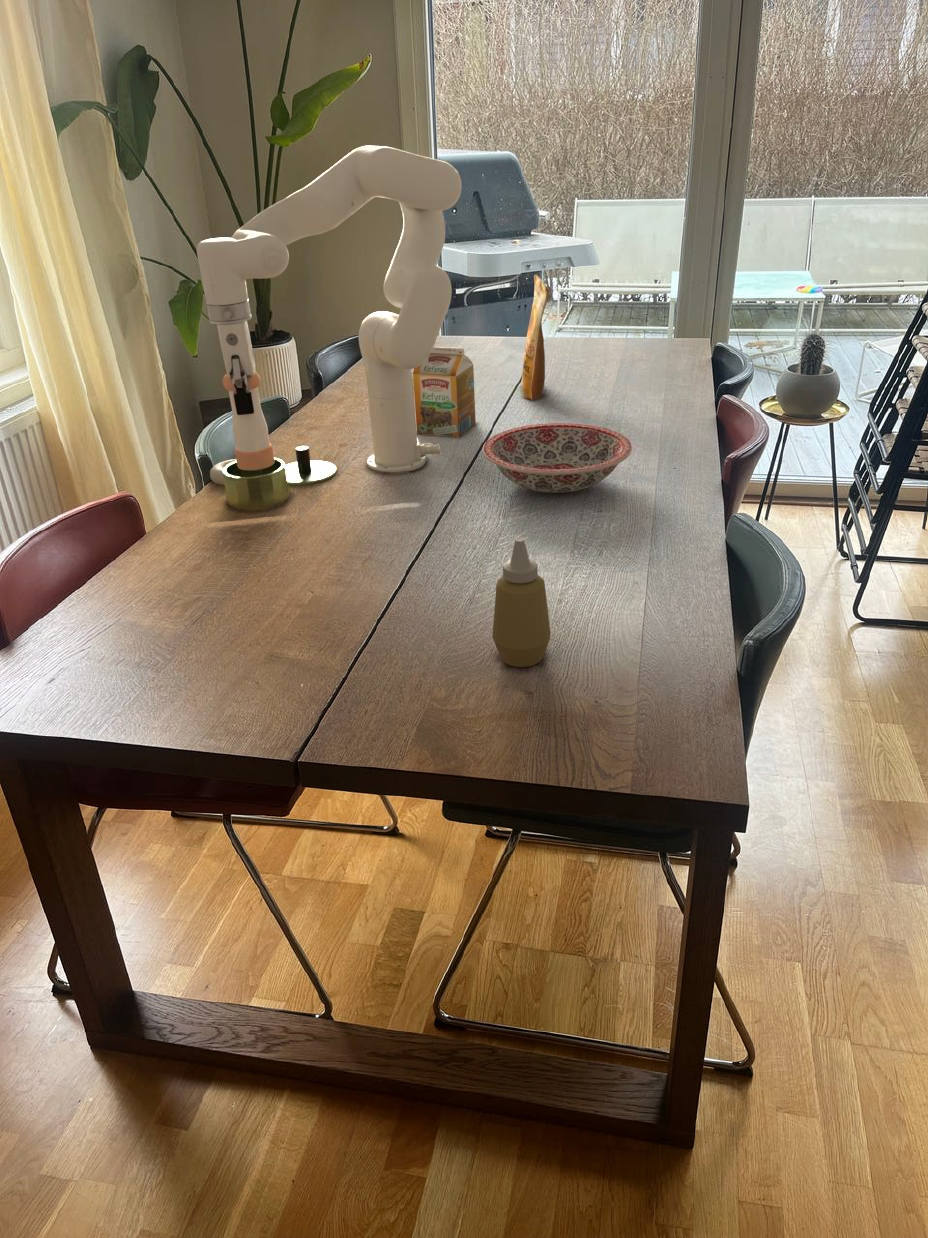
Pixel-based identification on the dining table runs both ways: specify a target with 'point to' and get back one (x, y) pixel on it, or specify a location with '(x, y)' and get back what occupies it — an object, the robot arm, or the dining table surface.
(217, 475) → the donut
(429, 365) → the milk carton
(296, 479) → the lid
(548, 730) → the dining table surface
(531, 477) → the ceramic bowl
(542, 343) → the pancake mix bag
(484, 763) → the dining table surface
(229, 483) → the pot
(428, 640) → the dining table surface
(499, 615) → the squeeze bottle
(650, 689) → the dining table surface
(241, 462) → the pepper shaker
